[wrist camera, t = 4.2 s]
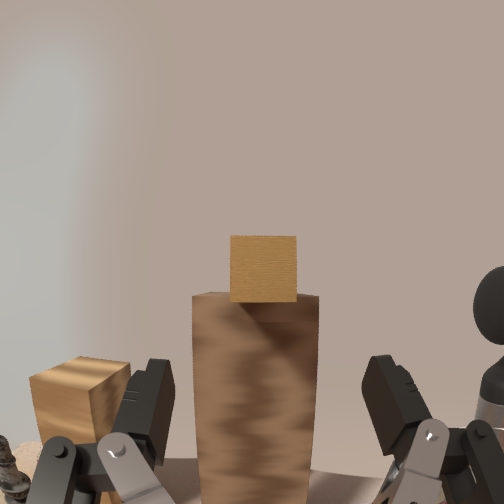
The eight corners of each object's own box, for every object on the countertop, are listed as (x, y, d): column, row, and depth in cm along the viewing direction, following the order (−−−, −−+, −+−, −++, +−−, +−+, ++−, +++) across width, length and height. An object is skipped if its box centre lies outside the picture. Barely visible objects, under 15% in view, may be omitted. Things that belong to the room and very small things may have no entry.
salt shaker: (32, 486, 26) (12, 420, 27) (42, 508, 22) (17, 439, 23) (0, 489, 21) (-24, 421, 23) (7, 511, 18) (-23, 440, 19)
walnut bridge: (282, 488, 37) (288, 292, 40) (298, 557, 21) (318, 296, 24) (216, 489, 37) (211, 291, 40) (208, 559, 21) (192, 296, 24)
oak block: (99, 474, 35) (80, 356, 38) (145, 483, 36) (130, 362, 38) (66, 516, 23) (28, 377, 25) (120, 532, 23) (88, 390, 25)
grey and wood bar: (236, 292, 40) (236, 265, 40) (263, 292, 40) (263, 265, 41) (229, 302, 16) (230, 235, 17) (296, 302, 16) (296, 236, 17)
